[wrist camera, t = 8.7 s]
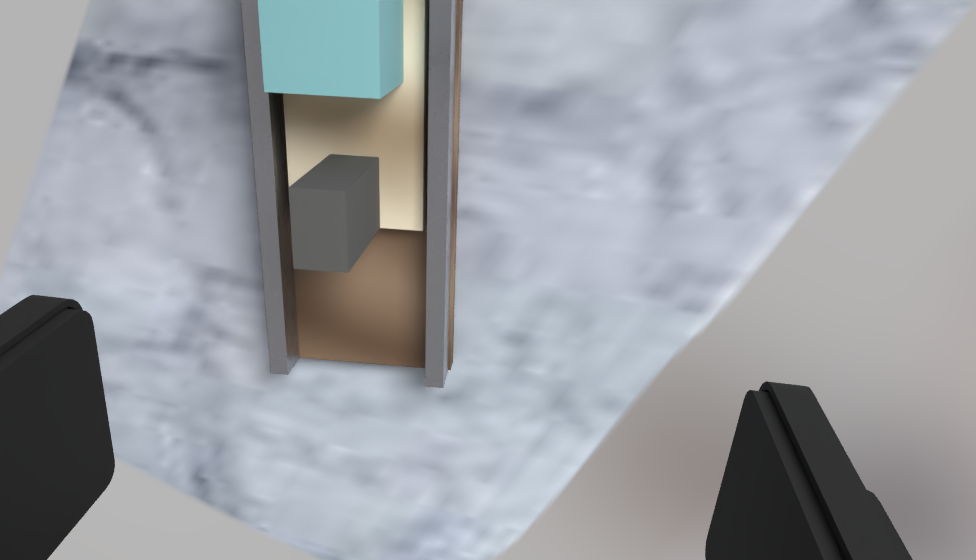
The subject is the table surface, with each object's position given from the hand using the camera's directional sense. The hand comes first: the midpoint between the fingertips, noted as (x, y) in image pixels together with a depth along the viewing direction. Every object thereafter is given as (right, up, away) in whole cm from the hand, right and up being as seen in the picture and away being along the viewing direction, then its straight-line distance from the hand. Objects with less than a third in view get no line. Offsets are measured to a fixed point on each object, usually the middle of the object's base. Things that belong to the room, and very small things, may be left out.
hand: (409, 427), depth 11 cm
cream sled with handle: (-4, +9, +19) cm, 22 cm away
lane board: (-4, +7, +21) cm, 23 cm away
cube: (-4, +12, +18) cm, 22 cm away
